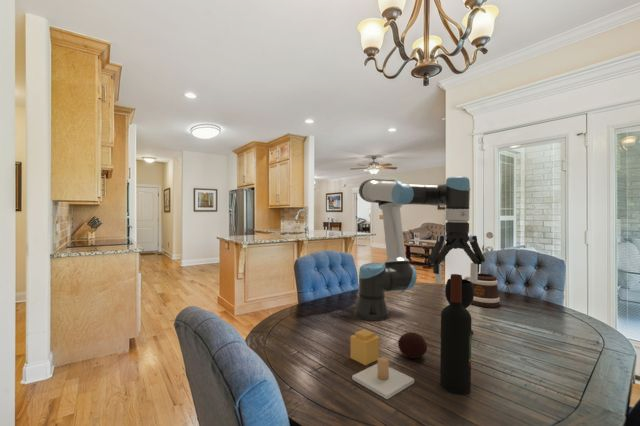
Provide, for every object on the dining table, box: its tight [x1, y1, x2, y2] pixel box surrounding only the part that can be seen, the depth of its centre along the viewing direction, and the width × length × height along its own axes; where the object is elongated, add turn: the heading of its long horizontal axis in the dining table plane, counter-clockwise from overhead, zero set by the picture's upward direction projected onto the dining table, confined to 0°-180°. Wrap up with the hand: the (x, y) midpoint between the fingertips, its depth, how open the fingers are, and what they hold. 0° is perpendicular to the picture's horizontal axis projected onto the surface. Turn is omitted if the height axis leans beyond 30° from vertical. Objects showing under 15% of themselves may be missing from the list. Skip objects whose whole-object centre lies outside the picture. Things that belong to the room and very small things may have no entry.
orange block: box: [349, 328, 380, 366], centre depth 98 cm, size 6×6×8 cm
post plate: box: [351, 356, 415, 400], centre depth 85 cm, size 12×12×6 cm
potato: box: [397, 331, 428, 359], centre depth 99 cm, size 8×9×8 cm
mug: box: [463, 272, 501, 309], centre depth 162 cm, size 20×15×15 cm
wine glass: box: [444, 278, 474, 336], centre depth 122 cm, size 10×10×20 cm
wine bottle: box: [439, 273, 472, 396], centre depth 82 cm, size 8×8×30 cm
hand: (456, 282), depth 106 cm, fingers open, 13 cm apart
